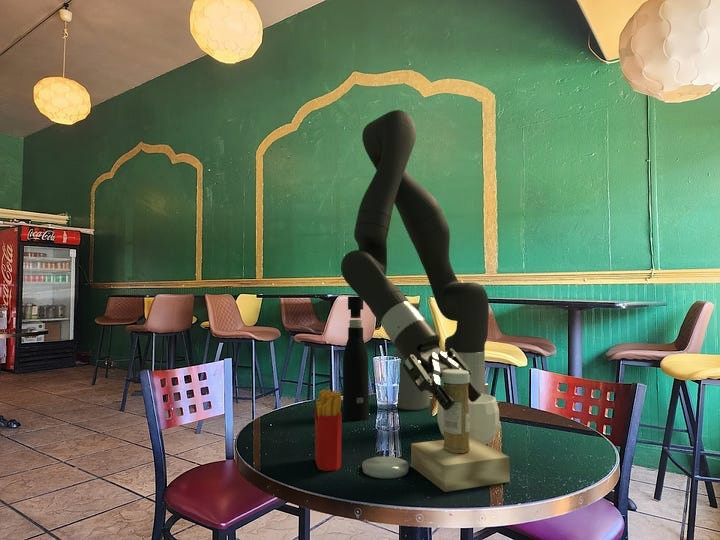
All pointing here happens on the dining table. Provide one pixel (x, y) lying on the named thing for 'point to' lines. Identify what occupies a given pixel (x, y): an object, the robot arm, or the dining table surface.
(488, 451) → the birch block
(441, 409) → the cup
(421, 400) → the water bottle
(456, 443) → the sprinkles bottle
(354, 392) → the black bottle
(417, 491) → the dining table surface
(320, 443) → the french fries
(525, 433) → the dining table surface
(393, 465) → the pale grey dome
